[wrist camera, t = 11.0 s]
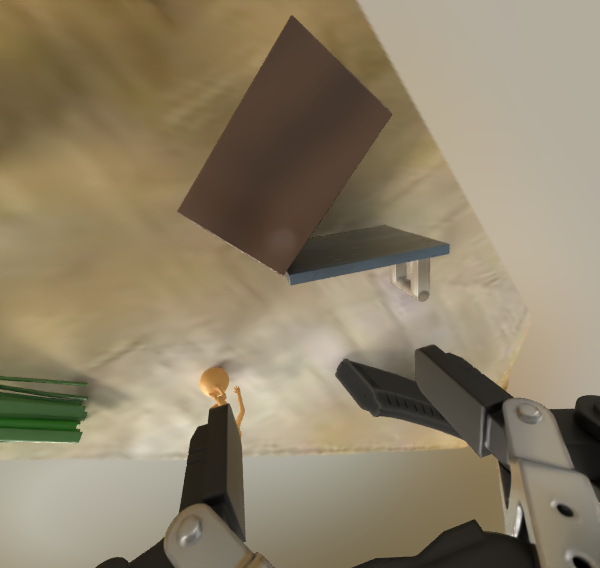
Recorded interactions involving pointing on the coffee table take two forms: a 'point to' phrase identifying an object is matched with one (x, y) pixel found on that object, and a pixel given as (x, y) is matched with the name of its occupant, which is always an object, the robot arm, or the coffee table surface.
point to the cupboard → (285, 151)
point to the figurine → (220, 389)
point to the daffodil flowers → (40, 414)
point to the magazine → (390, 396)
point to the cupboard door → (369, 257)
